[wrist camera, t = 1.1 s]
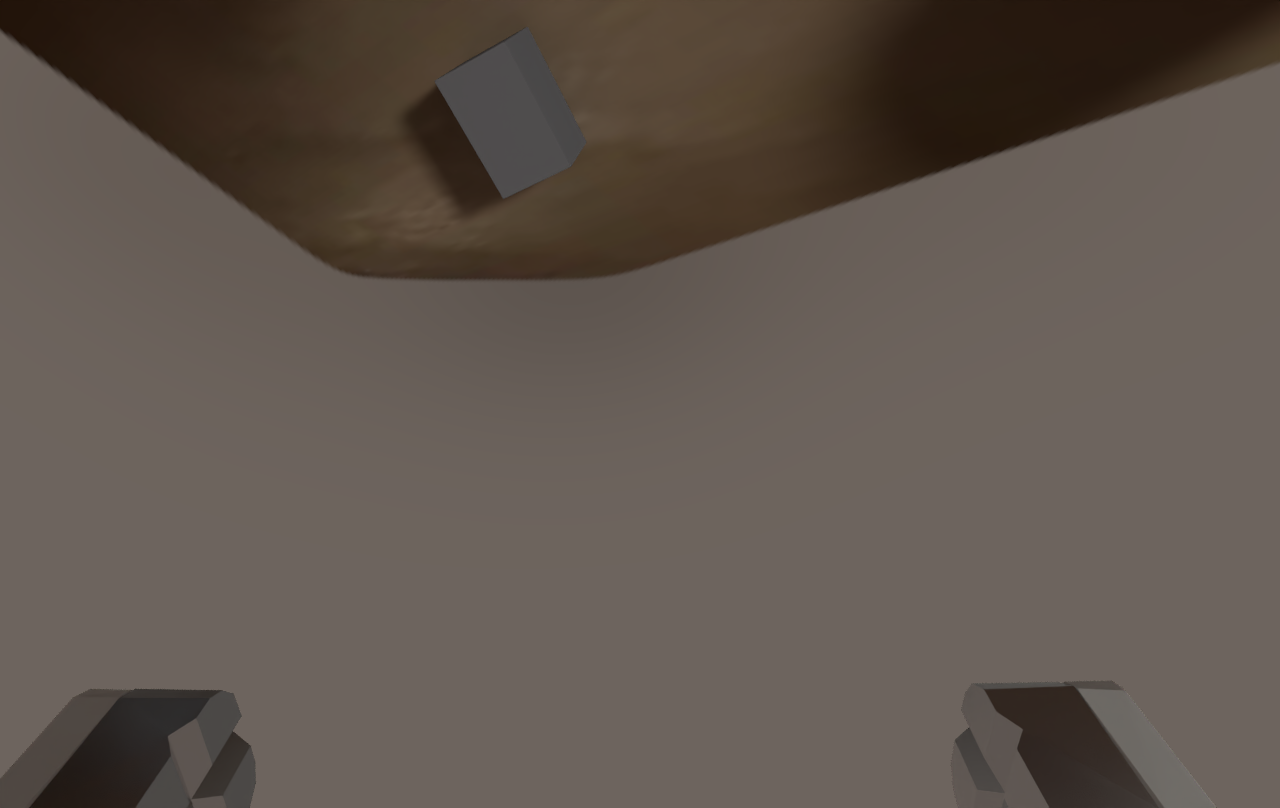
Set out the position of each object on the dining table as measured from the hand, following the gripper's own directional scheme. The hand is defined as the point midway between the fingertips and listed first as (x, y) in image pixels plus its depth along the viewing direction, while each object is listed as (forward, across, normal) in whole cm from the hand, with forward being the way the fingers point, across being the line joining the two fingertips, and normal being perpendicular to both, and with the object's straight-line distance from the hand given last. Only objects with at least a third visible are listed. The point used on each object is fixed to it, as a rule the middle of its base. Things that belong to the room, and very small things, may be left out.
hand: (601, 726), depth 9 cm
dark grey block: (+43, +6, -5) cm, 43 cm away
